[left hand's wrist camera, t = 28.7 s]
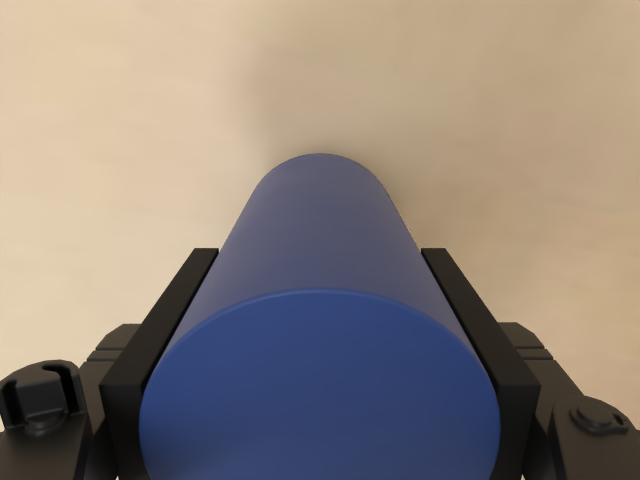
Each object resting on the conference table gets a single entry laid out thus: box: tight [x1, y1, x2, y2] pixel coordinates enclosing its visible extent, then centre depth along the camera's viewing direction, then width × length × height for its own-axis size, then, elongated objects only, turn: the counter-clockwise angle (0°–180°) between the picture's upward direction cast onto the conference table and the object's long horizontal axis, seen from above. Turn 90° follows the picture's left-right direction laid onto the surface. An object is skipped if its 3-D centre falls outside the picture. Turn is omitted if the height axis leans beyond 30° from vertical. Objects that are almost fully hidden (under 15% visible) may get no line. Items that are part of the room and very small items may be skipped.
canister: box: [139, 153, 501, 480], centre depth 13 cm, size 6×6×12 cm
